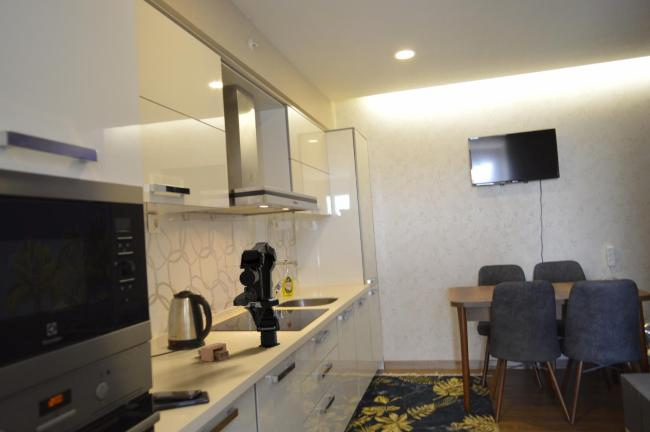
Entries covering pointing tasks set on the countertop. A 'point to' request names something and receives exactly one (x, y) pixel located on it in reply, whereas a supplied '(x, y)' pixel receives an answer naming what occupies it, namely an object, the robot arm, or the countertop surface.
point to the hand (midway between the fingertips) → (257, 325)
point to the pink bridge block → (211, 351)
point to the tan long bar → (218, 354)
